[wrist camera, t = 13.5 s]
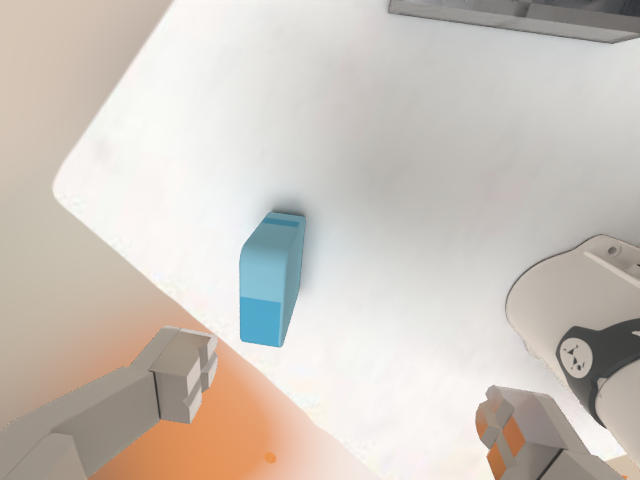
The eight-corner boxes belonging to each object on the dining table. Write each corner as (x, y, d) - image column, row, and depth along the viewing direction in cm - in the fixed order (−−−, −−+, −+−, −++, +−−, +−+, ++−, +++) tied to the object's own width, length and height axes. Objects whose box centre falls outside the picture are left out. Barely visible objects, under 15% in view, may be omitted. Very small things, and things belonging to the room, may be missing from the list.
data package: (271, 208, 38) (238, 249, 28) (306, 212, 38) (287, 256, 27) (268, 286, 43) (239, 348, 33) (299, 291, 43) (280, 354, 32)
